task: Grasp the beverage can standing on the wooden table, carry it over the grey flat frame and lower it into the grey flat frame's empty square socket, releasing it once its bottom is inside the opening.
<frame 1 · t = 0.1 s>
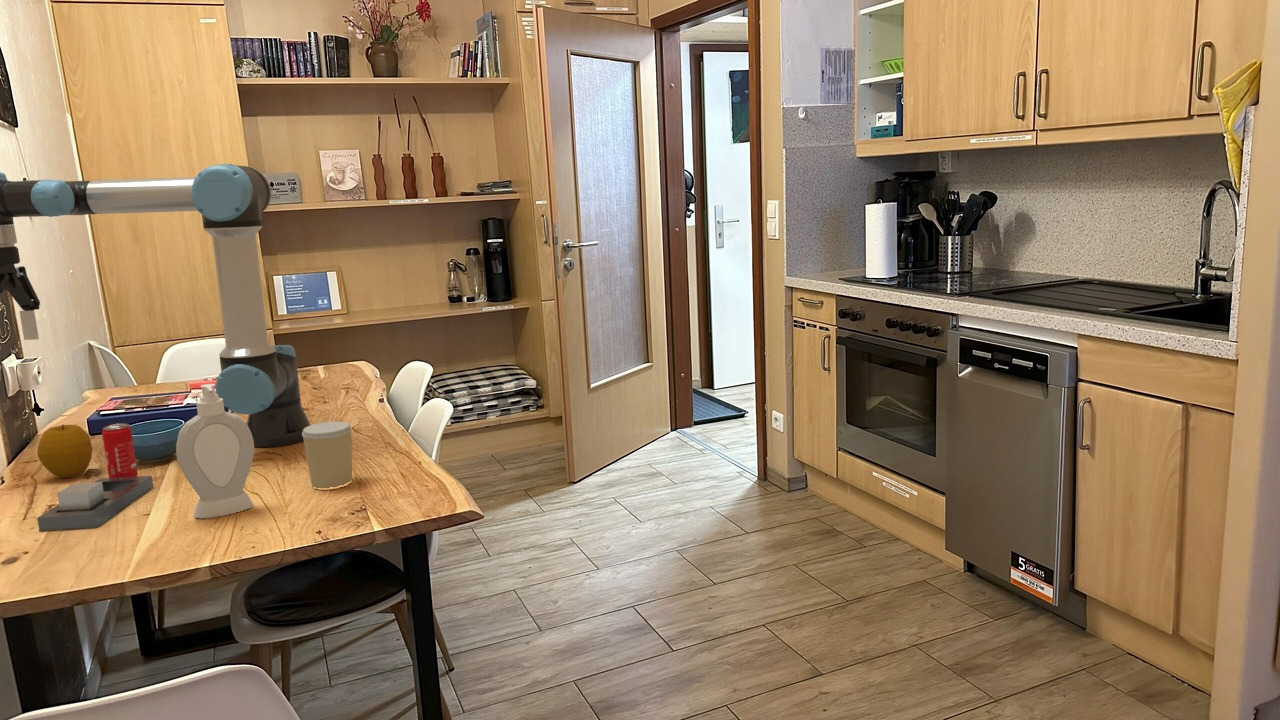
hand: (12, 344, 189), 28 cm above the table, fingers open, 13 cm apart
apple: (70, 477, 187), on the table
coffee cup: (332, 485, 177), on the table
grey flat frame: (100, 507, 167), on the table
beverage can: (124, 482, 182), on the table
soap bottle: (225, 515, 161), on the table
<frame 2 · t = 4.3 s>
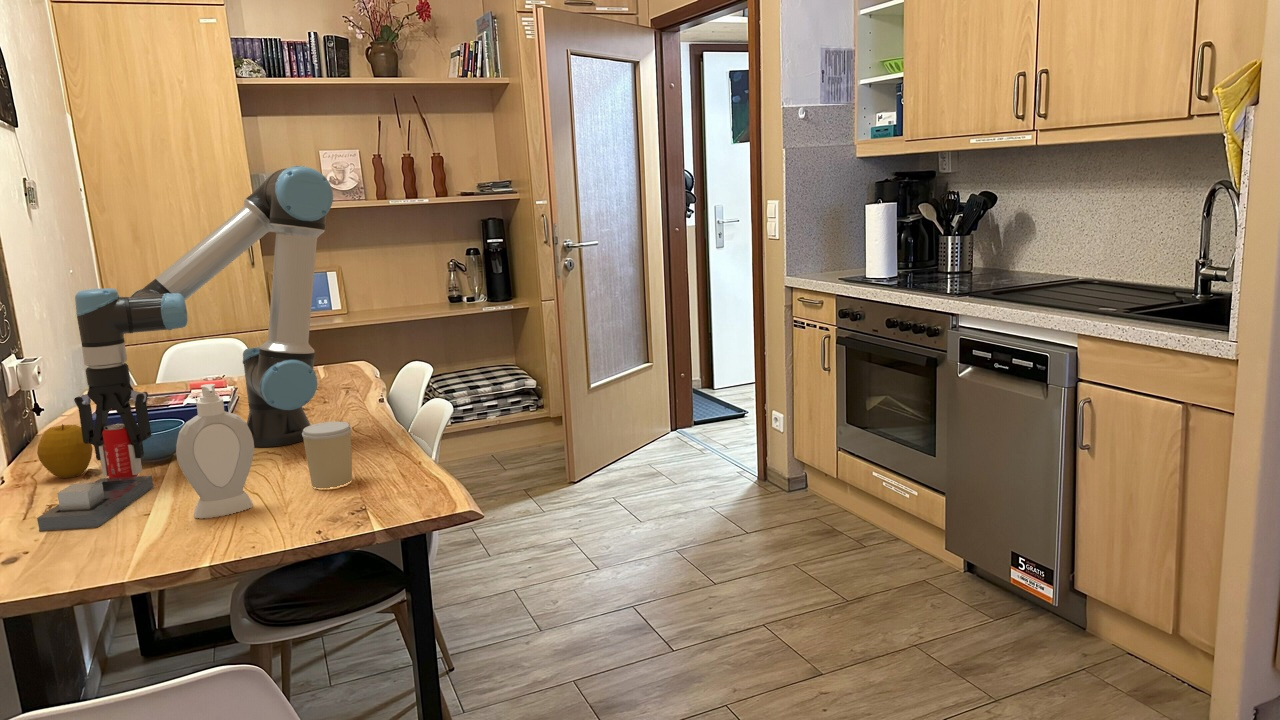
hand: (122, 473, 182), 2 cm above the table, fingers closed on beverage can, 5 cm apart
beverage can: (124, 482, 182), on the table, touching gripper
everything else where it was.
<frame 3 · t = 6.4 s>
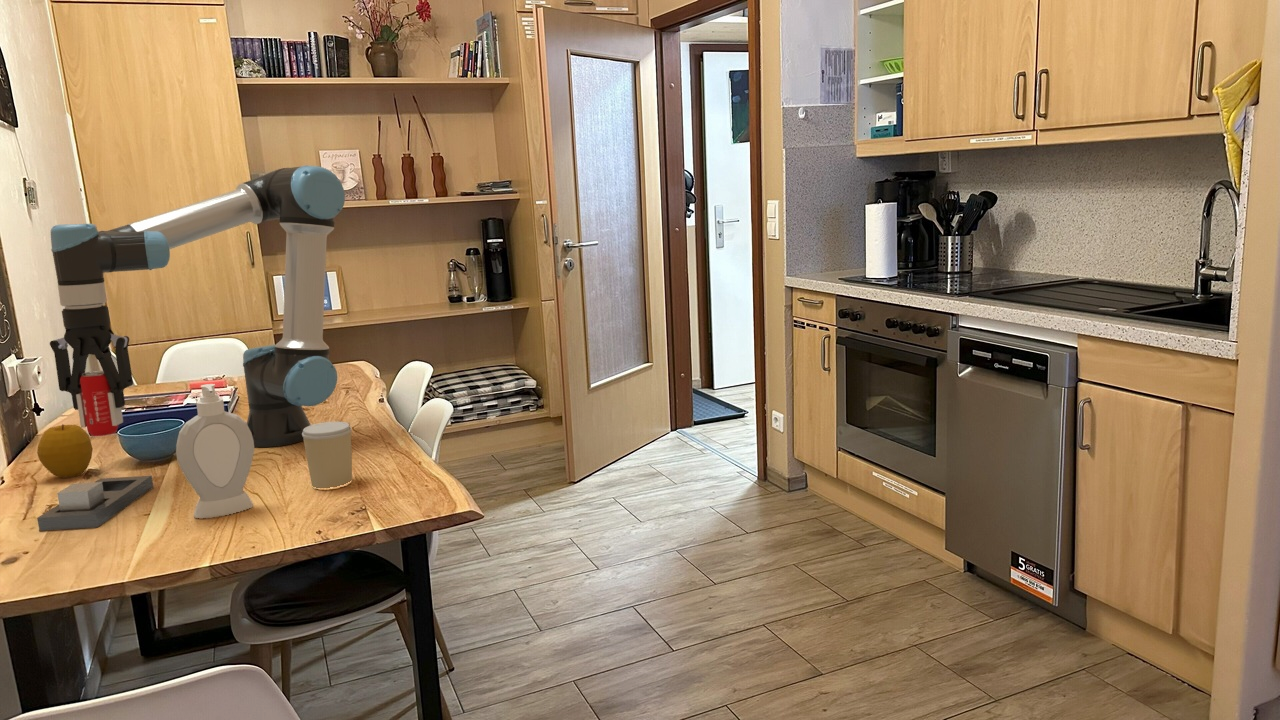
hand: (102, 424, 170), 15 cm above the table, fingers closed on beverage can, 5 cm apart
beverage can: (103, 434, 170), point 13 cm above the table, touching gripper
everything else where it was.
when the fingers open (4 cm above the table, at t = 8.7 s): beverage can drops 2 cm, resting in grey flat frame.
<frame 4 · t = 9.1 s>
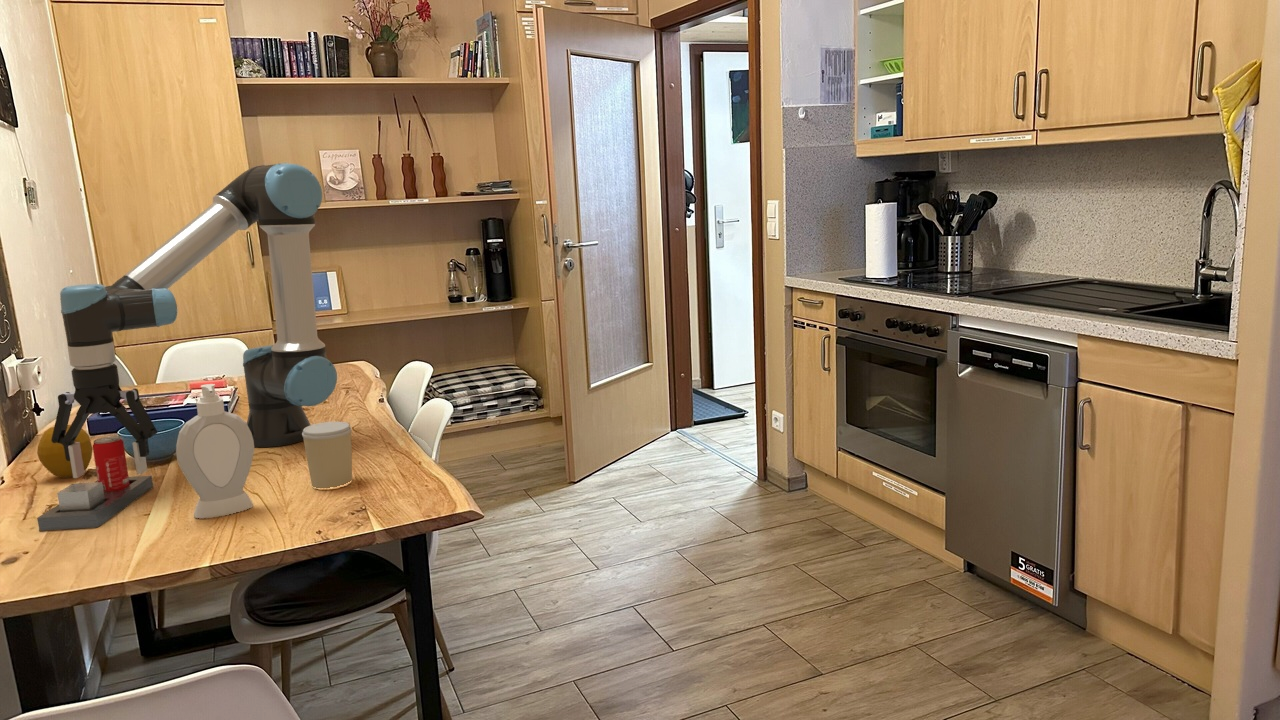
hand: (110, 474, 171), 5 cm above the table, fingers open, 11 cm apart
beverage can: (116, 498, 172), resting in grey flat frame
everything else where it was.
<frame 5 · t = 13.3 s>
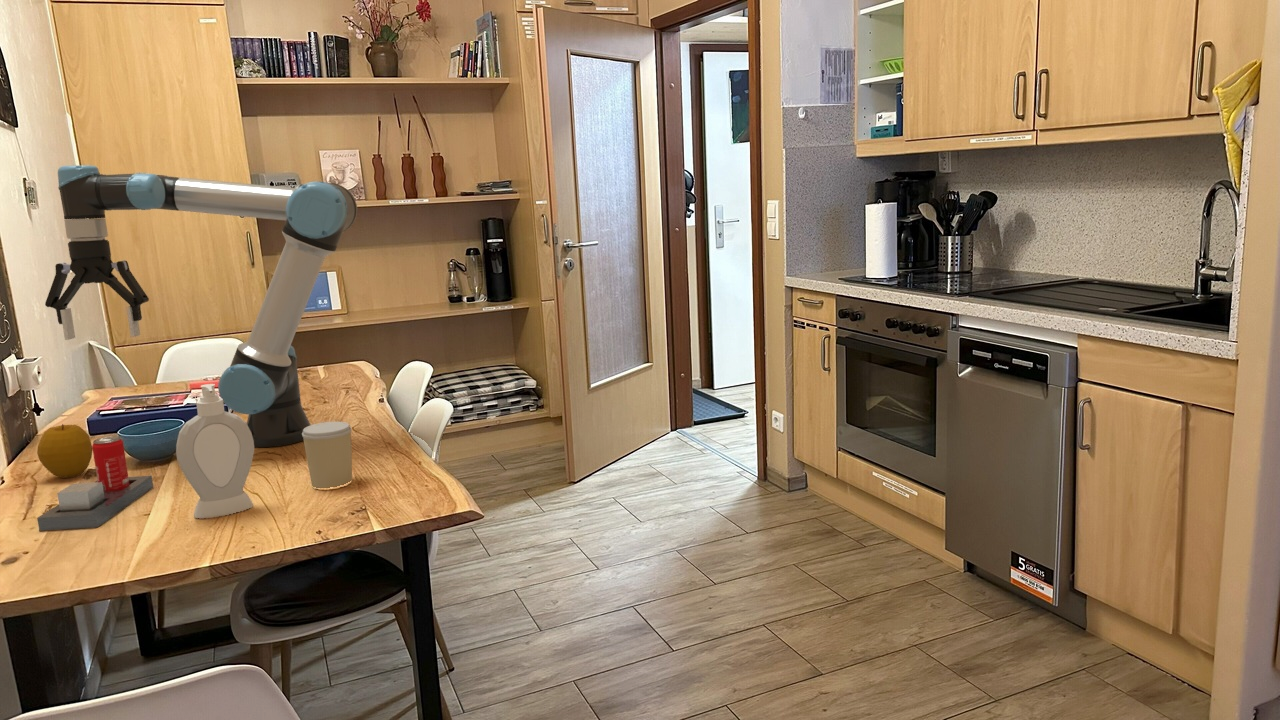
hand: (103, 337, 190), 29 cm above the table, fingers open, 13 cm apart
nothing on the table moved.
at the end: beverage can 0.3 cm from the target spot on the grey flat frame, point 0.0 cm above the grey flat frame's base; beverage can touching table; beverage can tilted 0° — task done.
